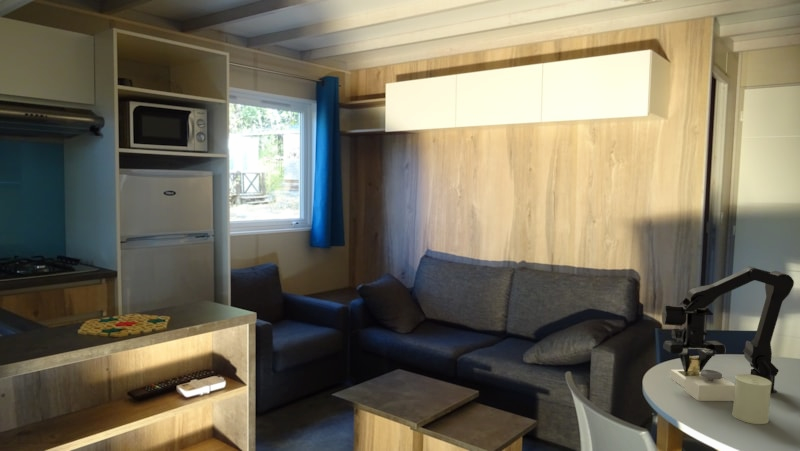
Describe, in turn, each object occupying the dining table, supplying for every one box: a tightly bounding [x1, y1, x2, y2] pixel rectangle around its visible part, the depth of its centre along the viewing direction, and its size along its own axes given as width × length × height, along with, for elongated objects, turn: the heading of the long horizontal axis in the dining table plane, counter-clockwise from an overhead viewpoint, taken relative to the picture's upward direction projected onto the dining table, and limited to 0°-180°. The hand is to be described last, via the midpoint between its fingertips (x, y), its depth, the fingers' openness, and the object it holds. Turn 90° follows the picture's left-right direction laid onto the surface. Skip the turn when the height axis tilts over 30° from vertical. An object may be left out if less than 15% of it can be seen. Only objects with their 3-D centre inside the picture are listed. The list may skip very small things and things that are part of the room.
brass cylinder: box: [685, 355, 701, 376], centre depth 198 cm, size 4×4×6 cm
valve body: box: [669, 369, 735, 402], centre depth 193 cm, size 12×20×8 cm, turn 2°
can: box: [731, 373, 772, 425], centre depth 171 cm, size 9×9×12 cm
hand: (692, 371), depth 198 cm, fingers closed on brass cylinder, 4 cm apart
